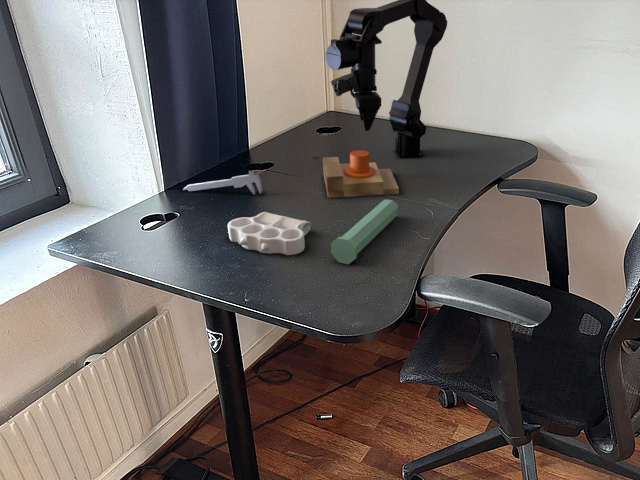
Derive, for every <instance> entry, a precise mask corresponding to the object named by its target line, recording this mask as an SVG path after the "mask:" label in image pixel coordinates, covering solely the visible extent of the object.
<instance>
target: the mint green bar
mask: <svg viewBox="0 0 640 480" xmlns="http://www.w3.org/2000/svg"><path fill="white" fill-rule="evenodd" d="M398 215H399V205H398V204H397V202H396V201H395V200H393V199H392V200H391V199H387V198H384V199H383V200H382V201H381V202H379V204H377V205H376V206H375V207H374V208H373V209H372V210H371V211H370V212H368V213H367V214H366V215H364V216H363V218H361V220H359V221H358V222H356V224H354V225H353V227H351V228H350V229H349V230H347V232H346V233H344V234H343V235H342V236H338V237H337V238H336V239H334V240H333V241H332V242H331V243H330V254H331V255H332V257H333V258H334V259H335V260H336V261H337V263H341V264H344V265H350V264H352V262H354V261H355V260H356V259H357V258H358V254H359V253H360V252H361V251H362V250H363V249H364V248H365V247H367V245H369V243H370V242H372V241H373V240H374V239H375V238H376V237H377V235H379V234H380V233H381V232H382V231H384V229H385V228H386V227H387V226H388V225H389V224H390V223H392V221H393V220H394V219H395V218H396V217H397V216H398Z"/></svg>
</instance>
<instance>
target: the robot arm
mask: <svg viewBox="0 0 640 480" xmlns="http://www.w3.org/2000/svg"><path fill="white" fill-rule="evenodd" d="M408 17H409V19H410V20H411V22H413V23H414V28H413V34H414V38H415V46H414V50H413V55H412V57H411V61H410V64H409V68H408V72H407V76H406V79H405V82H404V86H403V89H402V94H401V95H400V97H399V98H398V99H397V100H396V99H392V102H391V106H390V110H389V112H388V115H389V119H388V121H389V122H390V123H389V124H390V125H391V128H392V132H394V133H397V134H396V135H397V136H396V137H395V145H394V148H395V150H394V151H395V153H396V154H397V156H398V157H399V158H420V157H421V158H422V154H421V138H422V137H423V136H425V135H426V132H427V126H426V125H425V123H424V122H422V119H421V116H422V109H421V108H422V107H421V104H420V99H421V94H422V91H423V87H424V84H425V82H426V81H425V80H426V77H427V73H428V70H429V66H430V63H431V59H432V55H433V52H434V49H435V47H436V46H438V44H439V43H440V42H441V41H442V39H443V37H444V35H445V33H446V30H447V28H448V20H447V17H446V15H445V13H444V12H443V11H442V12H441V11H440V9H438V8H437V7H435V6H434V5H432V4H431V3H429V2H428V0H395V1H392V2H389V3H386V4H383V5H380V6H377V7H361V8H360V7H359V8H354V9H351V11H349V14H348V17H347V20H346V22H345V24H344V26H343V28H342V30H341V33H340V35H339V39H336V38H333V39H330V45H329V46H328V47H327V49H326V52H325V61H326V64H327V66H328V67H329V68H330V69H331V70H333V71H337V70H338V71H339V70H343V69H348V68H349V69H350V73H347V74H344V75H341V76H339V77H336V78H334V79H332V80H331V81H330V83H331V86H332V89H333V91H334V94H335V96H336V97H340V96H342V95H343V94H346V93H348V92H349V93H350V95H351V97H352V98H353V99H354V102H355V107H356V109H357V110H358V114H359V119H360V121H362V122H363V127H364V131H365V132H369V131H370V130H371V129H372V126H373V123H374V121H375V118H376V117H377V115H378V112H379V110H380V109H381V107H382V97H381V95H380V94H379V93H378V92H377V91H378V87H377V84H376V75H377V73H378V70H377V68H376V45H381V44H382V43H383V42H382V40H381V39H380V38H379V37H378V34H379V33H381V32H382V31H383V30H384V28H385V27H386V26H387V25H390V24H392V23H395V22H398V21H400V20H403V19H405V18H408Z"/></svg>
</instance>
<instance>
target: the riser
mask: <svg viewBox="0 0 640 480" xmlns="http://www.w3.org/2000/svg"><path fill="white" fill-rule="evenodd" d="M349 166H350V163H340V159H339V157H338V156H325V157H322V170H323V171H322V172H323V181H324V184H325V190H326V195H327V198H328V199H329V198H330V199H332V198H349V197H351V198H352V197H365V196H384V195H399V194H400V187H399V186H398V183H397V181H396V179H395V177H394V174H393V172H392V170H391V168H378V165H377V163H376V162H375V161H373V162H369V166H371V167H373V168H374V169H375V174H374V175H373V176H371V177H367V178H352V177H349V176H347V175H345V173H344V170H345V169H346V168H347V167H349Z"/></svg>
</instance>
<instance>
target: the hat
mask: <svg viewBox="0 0 640 480" xmlns="http://www.w3.org/2000/svg"><path fill="white" fill-rule="evenodd" d="M369 163H370V152H369V151H367V150H362V149H357V150H352V151H350V152H349V164H350V166H349V167H347V168H346V169H345V170H344V173H345V175H347V176H349V177H352V178H367V177H371V176H373V175H374V174H375V169H374V168H373V167H371V166H369Z"/></svg>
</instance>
